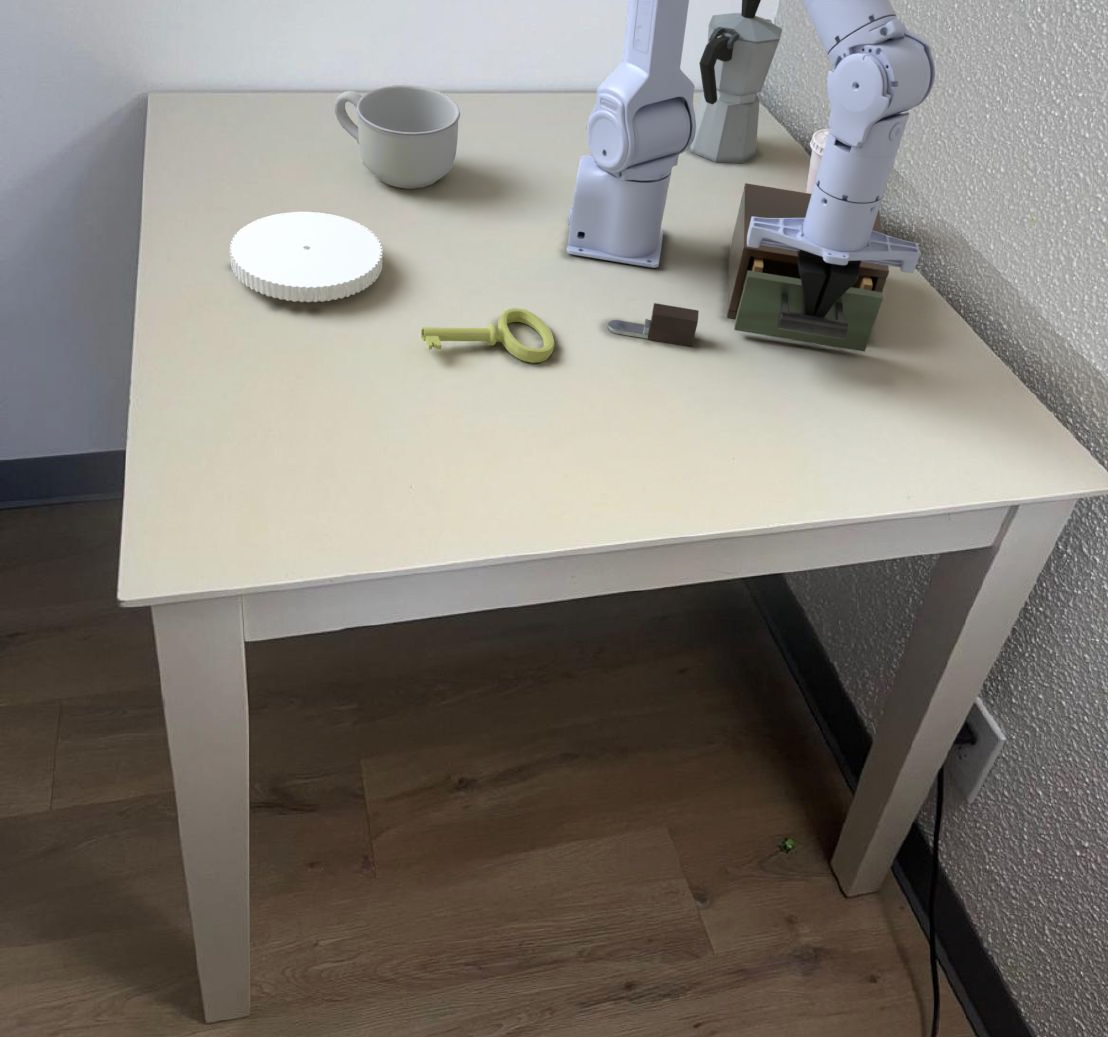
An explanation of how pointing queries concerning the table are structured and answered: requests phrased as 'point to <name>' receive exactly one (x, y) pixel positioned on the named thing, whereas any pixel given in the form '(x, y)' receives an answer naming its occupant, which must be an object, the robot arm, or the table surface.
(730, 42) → the coffee maker
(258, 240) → the white gear
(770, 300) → the drawer
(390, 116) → the teacup
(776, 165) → the table surface
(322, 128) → the table surface
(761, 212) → the cabinet
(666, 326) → the knife
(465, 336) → the key
